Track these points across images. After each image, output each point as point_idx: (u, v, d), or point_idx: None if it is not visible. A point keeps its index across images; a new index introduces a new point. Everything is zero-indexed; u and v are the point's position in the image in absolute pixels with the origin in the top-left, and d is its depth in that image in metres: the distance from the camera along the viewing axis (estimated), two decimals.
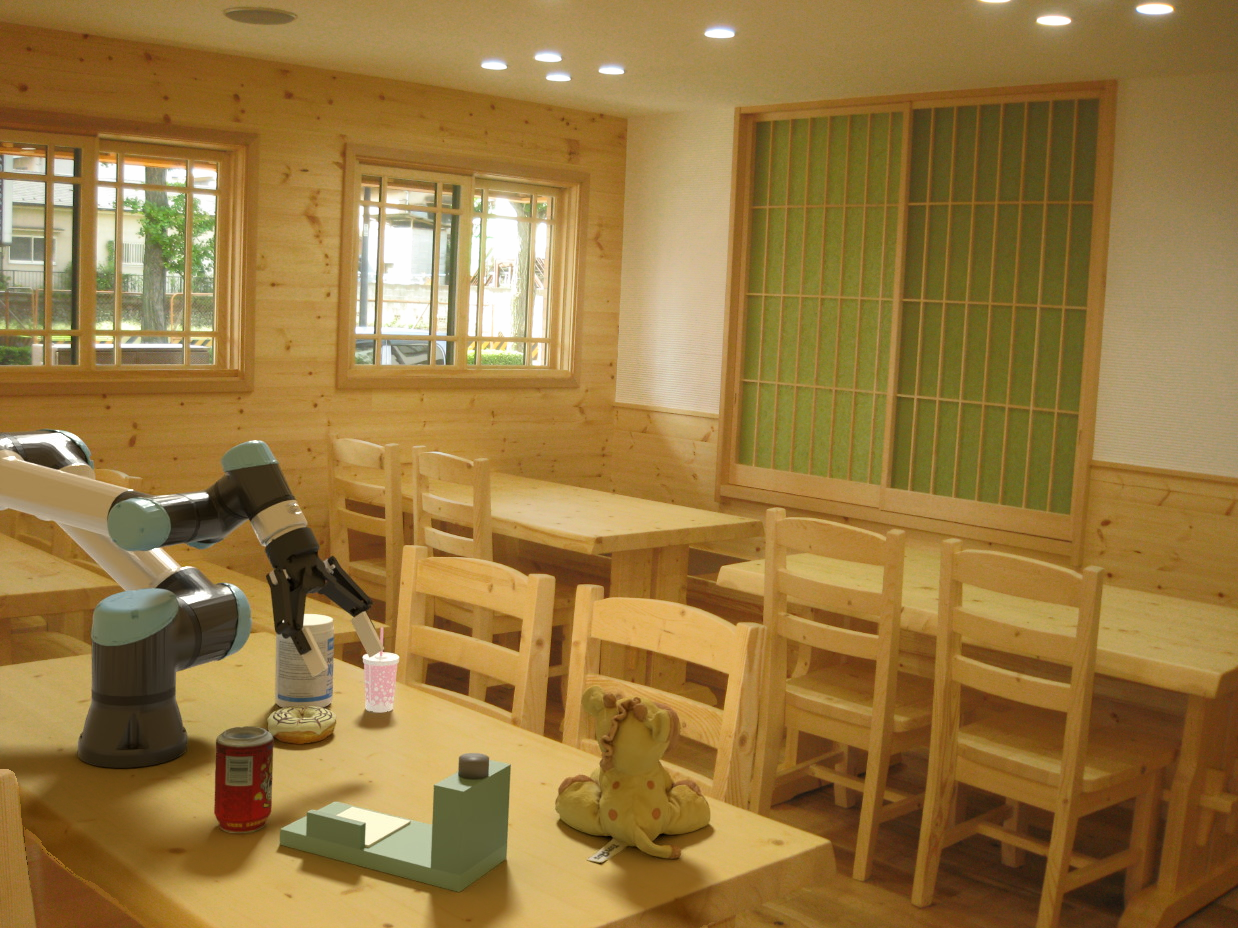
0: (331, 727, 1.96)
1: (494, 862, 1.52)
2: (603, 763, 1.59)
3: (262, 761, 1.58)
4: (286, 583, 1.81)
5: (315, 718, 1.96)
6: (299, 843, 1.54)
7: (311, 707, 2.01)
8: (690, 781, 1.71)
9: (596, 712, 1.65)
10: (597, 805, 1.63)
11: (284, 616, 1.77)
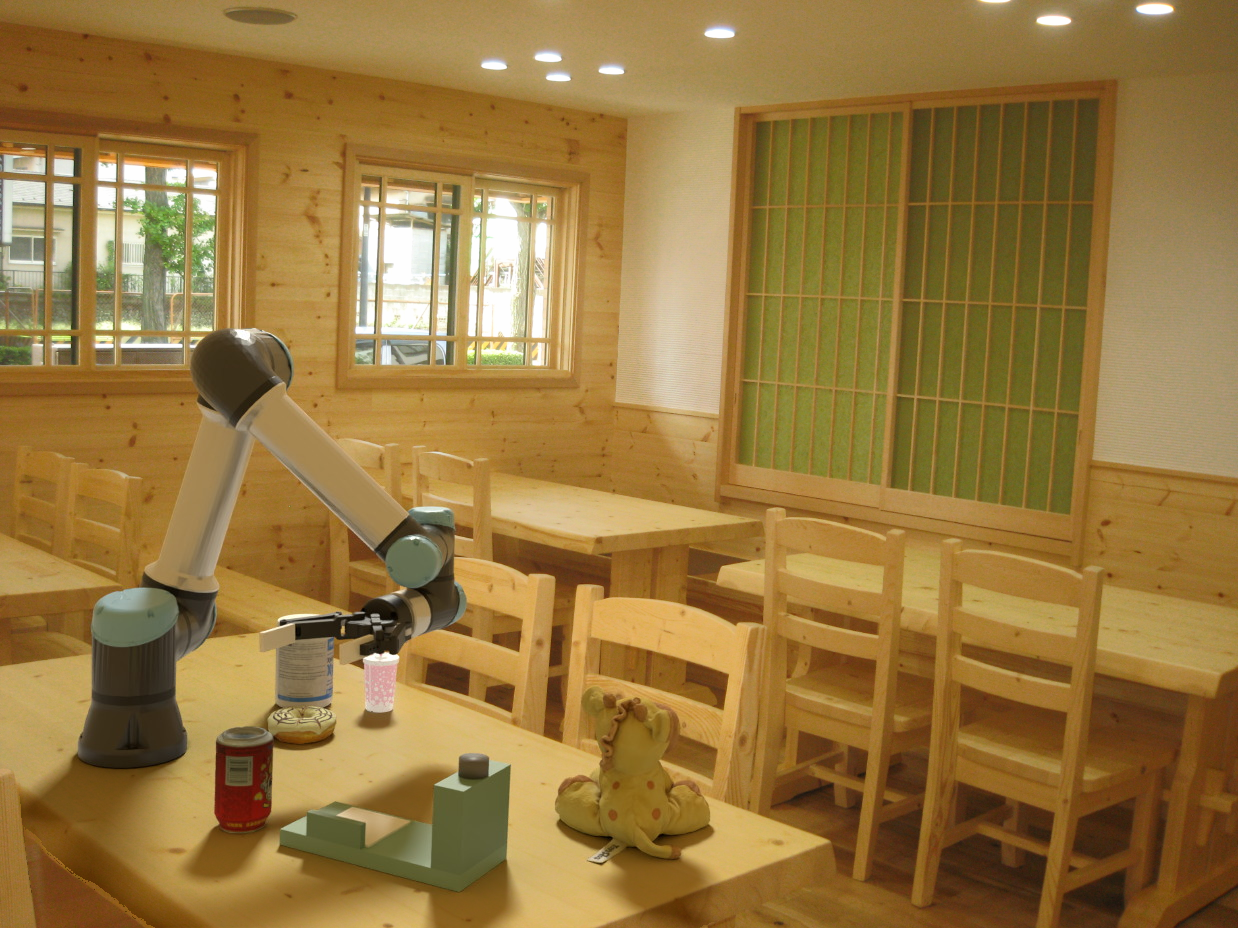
0: (331, 727, 1.96)
1: (494, 862, 1.52)
2: (603, 763, 1.59)
3: (262, 761, 1.58)
4: None
5: (315, 718, 1.96)
6: (299, 843, 1.54)
7: (311, 707, 2.01)
8: (690, 781, 1.71)
9: (596, 712, 1.65)
10: (596, 806, 1.63)
11: (399, 650, 1.74)
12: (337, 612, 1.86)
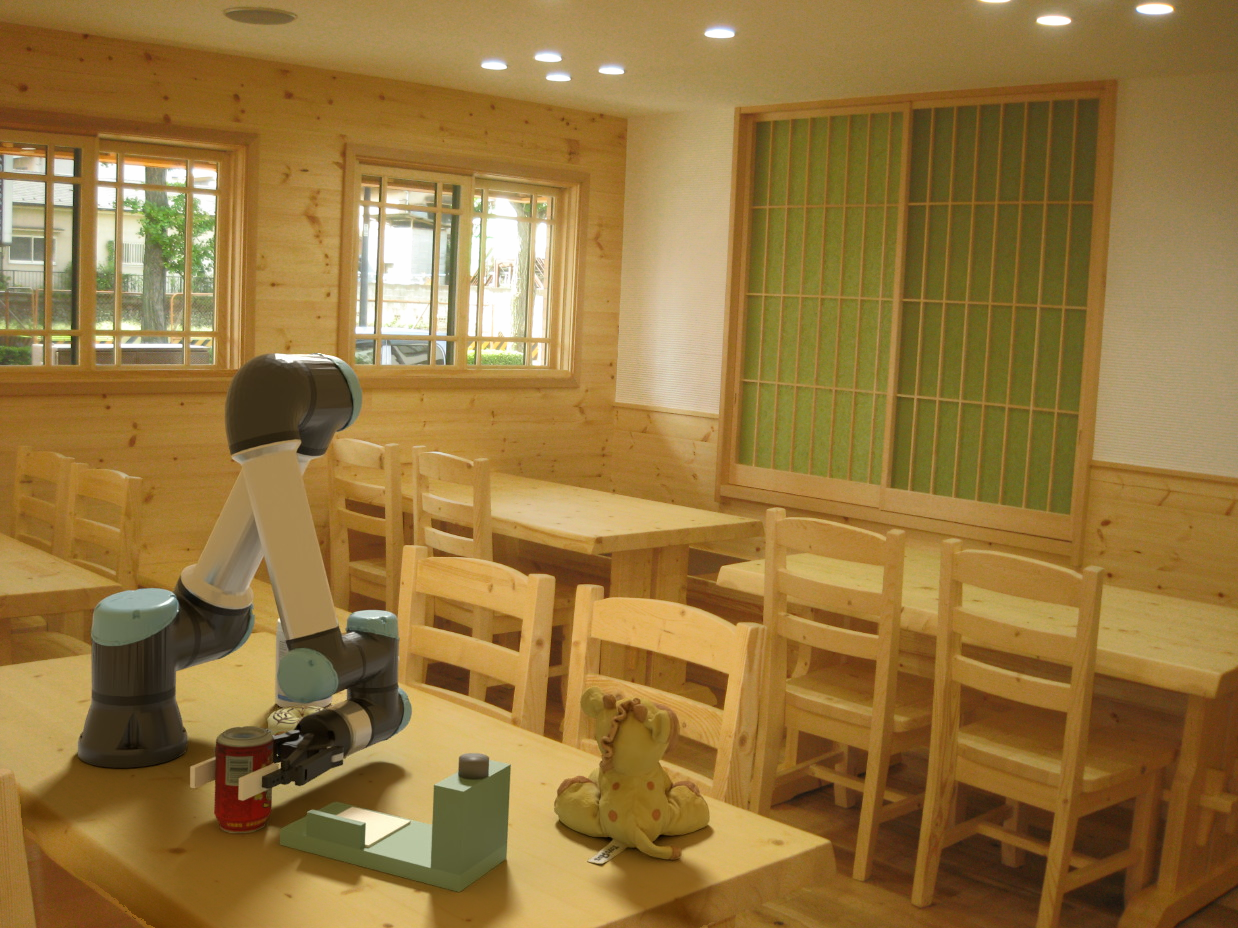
0: None
1: (494, 862, 1.52)
2: (603, 764, 1.58)
3: (262, 761, 1.58)
4: None
5: None
6: (299, 843, 1.54)
7: (311, 707, 2.01)
8: (689, 782, 1.71)
9: (595, 713, 1.64)
10: (596, 807, 1.63)
11: (308, 780, 1.61)
12: None
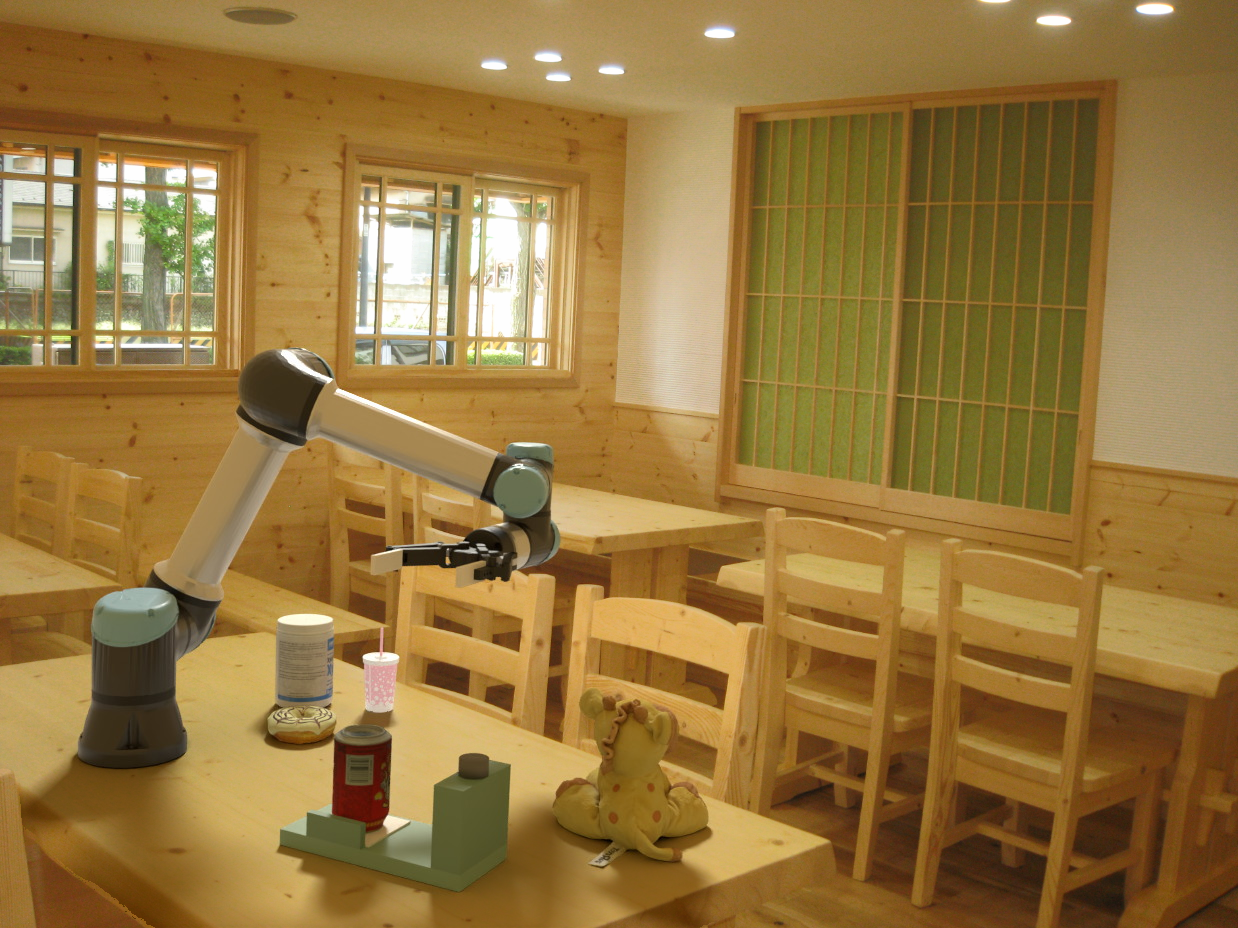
0: (331, 727, 1.96)
1: (494, 862, 1.52)
2: (603, 766, 1.58)
3: (382, 760, 1.54)
4: None
5: (315, 718, 1.95)
6: (299, 843, 1.54)
7: (312, 707, 2.00)
8: (688, 783, 1.70)
9: (595, 715, 1.64)
10: (596, 809, 1.62)
11: None
12: (439, 542, 1.85)
